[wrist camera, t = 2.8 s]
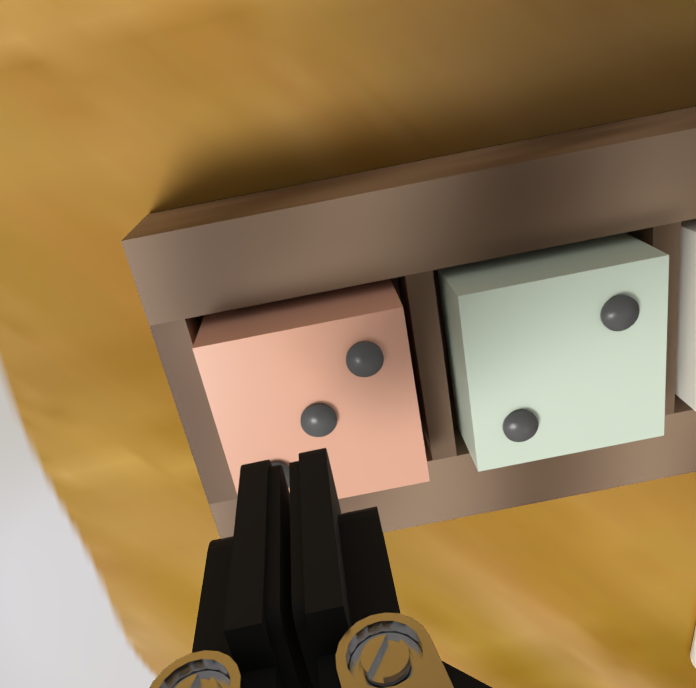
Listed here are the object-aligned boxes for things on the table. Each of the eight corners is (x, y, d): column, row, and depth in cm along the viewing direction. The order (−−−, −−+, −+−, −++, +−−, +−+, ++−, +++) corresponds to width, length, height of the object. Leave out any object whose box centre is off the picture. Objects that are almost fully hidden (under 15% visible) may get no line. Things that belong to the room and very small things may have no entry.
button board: (853, 75, 18) (956, 76, 15) (811, 387, 22) (886, 434, 19) (148, 214, 18) (121, 240, 15) (236, 500, 22) (228, 563, 19)
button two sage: (620, 230, 17) (672, 256, 15) (621, 392, 19) (666, 438, 17) (436, 266, 17) (458, 298, 15) (457, 424, 19) (479, 474, 17)
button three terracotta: (389, 276, 17) (403, 309, 15) (414, 433, 19) (430, 483, 17) (205, 312, 17) (191, 350, 15) (250, 465, 19) (244, 520, 17)
